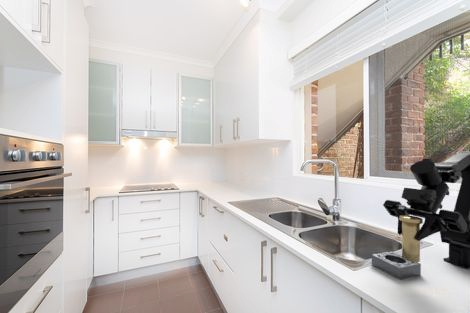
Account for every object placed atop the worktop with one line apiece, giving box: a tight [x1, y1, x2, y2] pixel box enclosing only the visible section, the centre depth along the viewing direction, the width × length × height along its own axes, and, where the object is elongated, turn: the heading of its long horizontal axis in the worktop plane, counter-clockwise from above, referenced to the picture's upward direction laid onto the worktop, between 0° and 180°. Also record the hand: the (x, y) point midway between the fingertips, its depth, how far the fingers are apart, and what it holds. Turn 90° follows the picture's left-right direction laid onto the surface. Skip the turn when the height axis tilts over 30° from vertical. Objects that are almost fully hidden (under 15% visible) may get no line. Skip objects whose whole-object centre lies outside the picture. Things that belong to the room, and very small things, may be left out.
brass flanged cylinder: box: [399, 215, 424, 263], centre depth 61 cm, size 5×5×12 cm
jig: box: [371, 250, 422, 281], centre depth 68 cm, size 9×9×4 cm
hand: (407, 236), depth 61 cm, fingers closed on brass flanged cylinder, 4 cm apart
